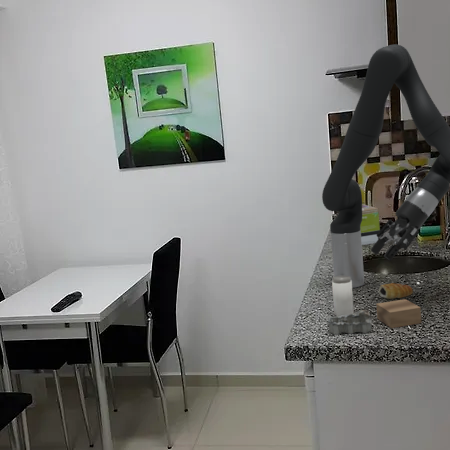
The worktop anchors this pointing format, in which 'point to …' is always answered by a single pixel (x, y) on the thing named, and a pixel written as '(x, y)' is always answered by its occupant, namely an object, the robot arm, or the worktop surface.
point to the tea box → (369, 225)
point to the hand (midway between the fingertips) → (380, 255)
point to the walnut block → (398, 313)
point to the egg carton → (350, 323)
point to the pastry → (394, 291)
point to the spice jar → (342, 295)
